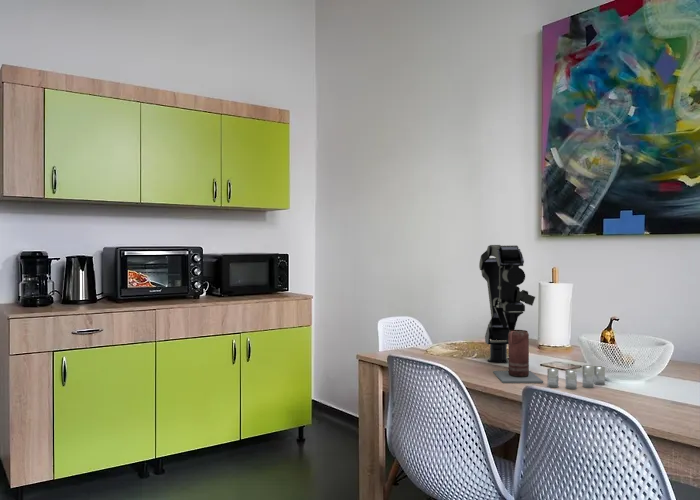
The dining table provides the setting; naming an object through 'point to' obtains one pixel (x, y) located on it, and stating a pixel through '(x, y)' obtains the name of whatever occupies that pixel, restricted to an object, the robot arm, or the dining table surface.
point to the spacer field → (589, 377)
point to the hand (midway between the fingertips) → (508, 330)
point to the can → (518, 353)
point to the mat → (517, 378)
